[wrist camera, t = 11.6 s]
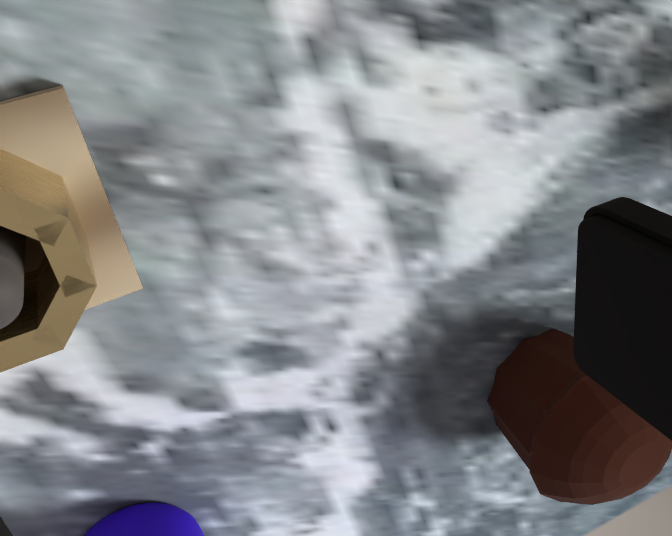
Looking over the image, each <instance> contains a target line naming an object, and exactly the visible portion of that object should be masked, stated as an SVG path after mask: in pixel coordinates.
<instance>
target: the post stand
mask: <svg viewBox="0 0 672 536" xmlns="http://www.w3.org/2000/svg"><path fill="white" fill-rule="evenodd" d="M0 149H3V150H5V151H7V152H9V153H11V154H14V155H16V156H18V157H20V158H22V159H25V160H27V161H29V162H31V163H34V164H36V165H38V166H40V167H42V168H45V169H47V170H49V171H51V172H54V173H56V174H58V175H60V176H62V177H63V180H64V182H65V184H66V187H67V189H68V192H69V194H70V197H71V199H72V201H73V204H74V206H75V209H76V211H77V213H78V216H79V218H80V221H81V223H82V226H83V228H84V230H85V233H86V236H87V240H88V245H89V250H90V255H91V259H92V264H93V269H94V273H95V278H96V283H97V287H96V289H95V291H94V293H93V295H92V297H91V299H90V300H89V302H88V304H87V306H86V308H85V310H86V309H88V308H91V307H94V306H97V305H99V304H102V303H105V302H108V301H110V300H113V299H116V298H118V297H121V296H124V295H127V294H129V293H132V292H135V291H138V290H140V289H143V287H142V284H141V282H140V279H139V277H138V274H137V271H136V269H135V266H134V264H133V261H132V259H131V256H130V254H129V251H128V249H127V246H126V244H125V241H124V239H123V236H122V234H121V231H120V229H119V226H118V224H117V221H116V219H115V216H114V214H113V211H112V209H111V206H110V203H109V201H108V198H107V196H106V193H105V191H104V188H103V186H102V183H101V181H100V178H99V176H98V173H97V171H96V168H95V166H94V163H93V161H92V158H91V156H90V153H89V151H88V148H87V146H86V143H85V141H84V138H83V136H82V133H81V130H80V128H79V125H78V123H77V120H76V118H75V115H74V113H73V110H72V108H71V105H70V103H69V100H68V98H67V95H66V93H65V90H64V88H63V85H60V86H57V87H53V88H49V89H45V90H42V91H38V92H34V93H30V94H27V95H23V96H19V97H15V98H12V99H8V100H4V101H0ZM44 255H45V251H44V249H43V247H42V245H41V243H40V241H38V240H36V239H33V238H31V237H28V236H26V235H23V234H20V233H18V232H15V231H13V230H10V229H8V228H5V227H2V226H0V329H2V328H4V327H5V326H7V325H9V324H10V323H11V322H12V321H14V320H15V318H16V317H17V316H18V315H19V313H20V311H21V309H22V306H23V298H24V273H27V272H30V271H33V270H37V268H38V266H39V265H40V263H41V261H42V259H43V257H44Z"/></svg>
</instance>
